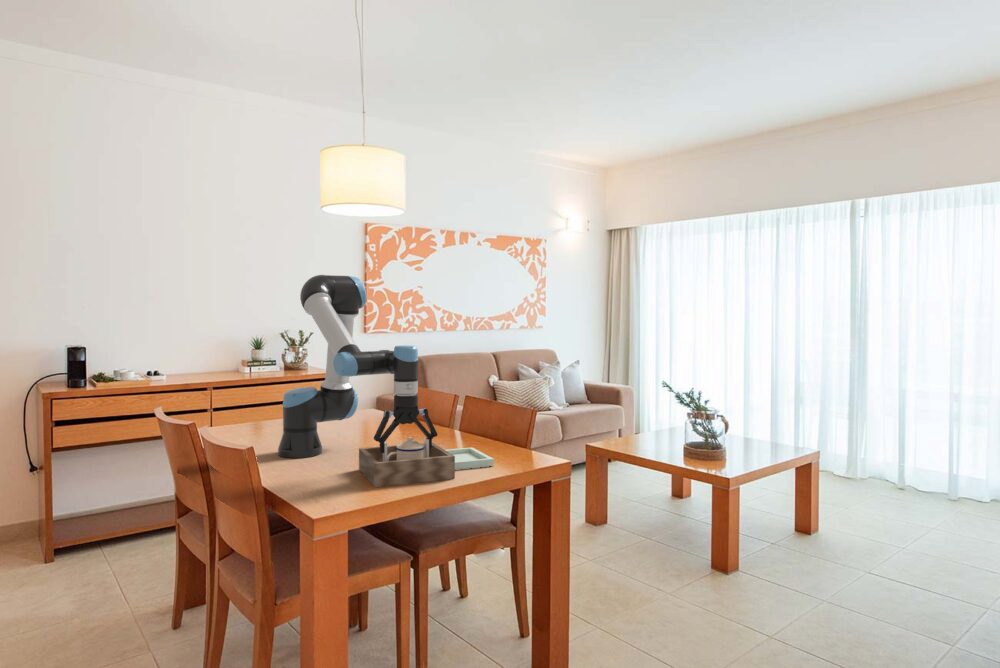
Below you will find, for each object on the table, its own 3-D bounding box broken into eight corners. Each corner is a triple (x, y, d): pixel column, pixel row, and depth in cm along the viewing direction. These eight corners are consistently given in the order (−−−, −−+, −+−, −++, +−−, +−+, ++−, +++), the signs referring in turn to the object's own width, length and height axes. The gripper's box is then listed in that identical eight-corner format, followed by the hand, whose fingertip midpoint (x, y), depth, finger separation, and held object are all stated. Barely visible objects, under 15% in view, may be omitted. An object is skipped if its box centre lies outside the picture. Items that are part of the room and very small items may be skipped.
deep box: (374, 487, 186) (374, 463, 186) (358, 469, 206) (358, 448, 206) (454, 478, 196) (454, 456, 196) (432, 462, 216) (432, 442, 216)
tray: (448, 470, 206) (448, 463, 206) (430, 458, 223) (430, 451, 223) (493, 466, 212) (493, 458, 212) (472, 454, 230) (472, 447, 230)
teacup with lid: (421, 469, 208) (421, 434, 207) (427, 476, 199) (427, 439, 199) (384, 472, 204) (384, 436, 203) (389, 479, 195) (389, 441, 195)
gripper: (369, 397, 192) (369, 467, 192) (447, 393, 202) (447, 459, 203) (364, 394, 199) (364, 462, 199) (439, 391, 209) (439, 455, 210)
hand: (406, 461), depth 201 cm, fingers open, 13 cm apart
